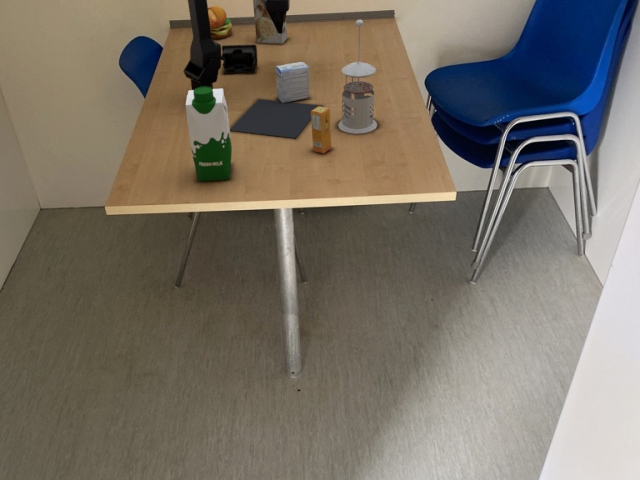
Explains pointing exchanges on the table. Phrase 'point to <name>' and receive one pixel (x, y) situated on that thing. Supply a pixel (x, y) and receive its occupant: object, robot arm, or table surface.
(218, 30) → the cheeseburger
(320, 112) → the supplement box
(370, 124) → the french press
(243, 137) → the table surface
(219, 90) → the milk carton
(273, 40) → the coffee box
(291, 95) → the medicine box
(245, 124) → the mat
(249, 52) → the end cap
